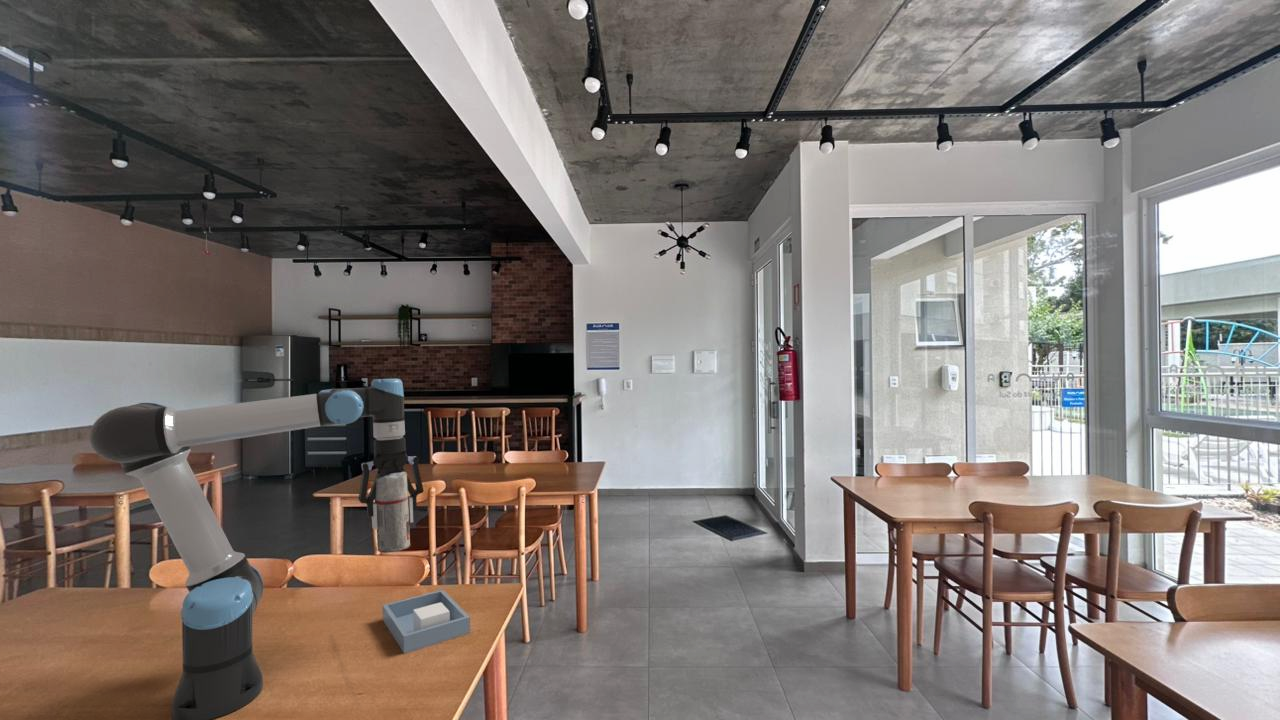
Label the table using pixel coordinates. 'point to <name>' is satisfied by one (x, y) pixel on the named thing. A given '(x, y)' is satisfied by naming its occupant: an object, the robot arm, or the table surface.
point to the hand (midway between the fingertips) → (393, 524)
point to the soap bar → (430, 616)
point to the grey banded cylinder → (392, 512)
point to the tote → (401, 628)
